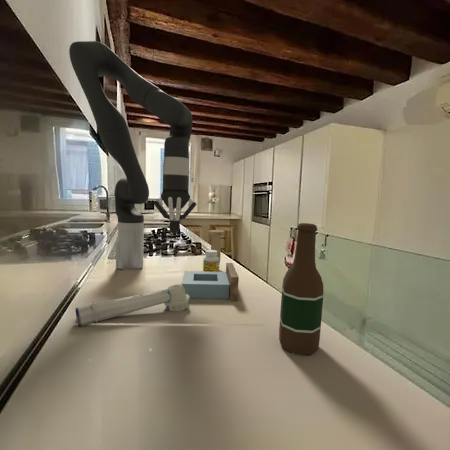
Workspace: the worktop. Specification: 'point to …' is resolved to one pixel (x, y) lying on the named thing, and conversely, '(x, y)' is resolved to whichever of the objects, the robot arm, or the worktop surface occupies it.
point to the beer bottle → (302, 297)
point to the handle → (216, 240)
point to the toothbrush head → (133, 305)
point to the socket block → (206, 284)
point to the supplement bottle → (211, 261)
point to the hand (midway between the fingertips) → (174, 232)
